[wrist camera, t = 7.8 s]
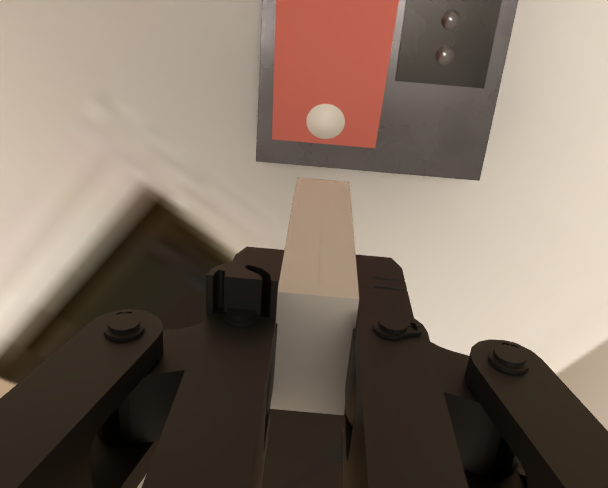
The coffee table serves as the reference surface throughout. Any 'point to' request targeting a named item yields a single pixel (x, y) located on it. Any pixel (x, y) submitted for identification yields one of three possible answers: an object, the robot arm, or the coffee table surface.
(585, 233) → the coffee table surface
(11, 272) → the coffee table surface
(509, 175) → the coffee table surface
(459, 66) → the power strip
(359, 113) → the plate
